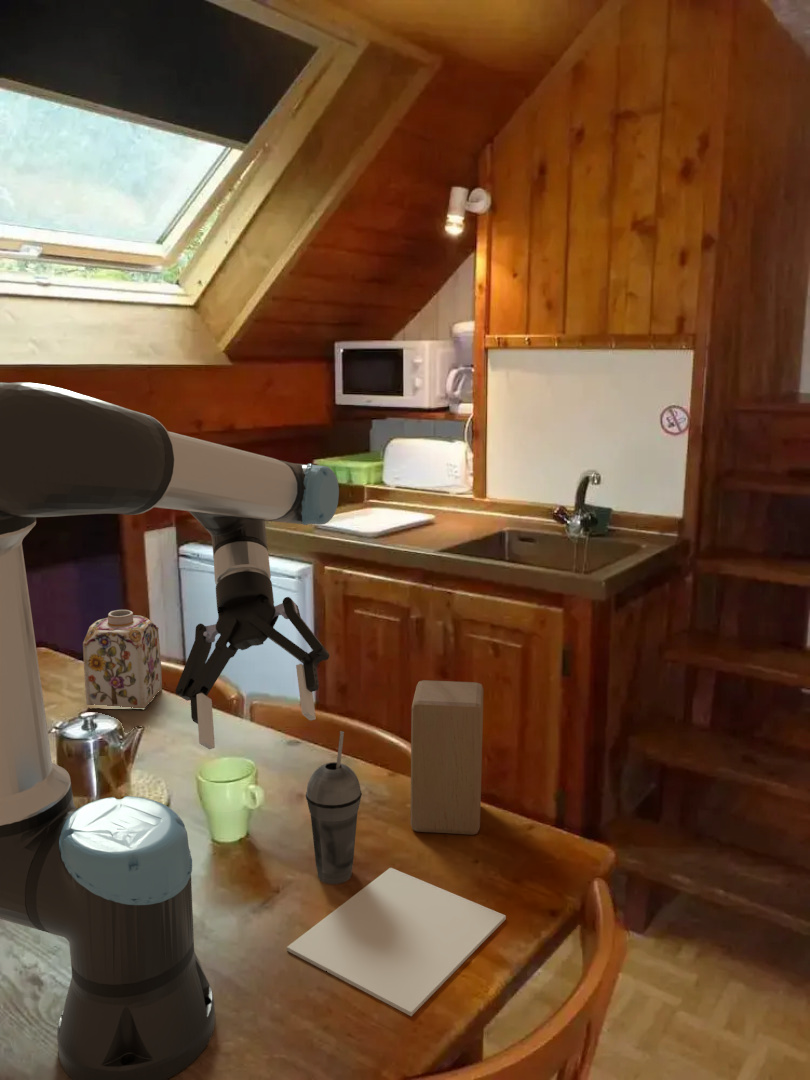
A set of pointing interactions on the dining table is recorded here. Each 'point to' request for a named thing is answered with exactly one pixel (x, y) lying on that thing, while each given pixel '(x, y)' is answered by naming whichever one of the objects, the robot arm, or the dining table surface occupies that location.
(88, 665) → the decorative jar
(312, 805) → the tumbler with straw
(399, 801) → the dining table surface
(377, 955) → the mat
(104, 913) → the robot arm
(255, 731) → the dining table surface
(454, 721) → the block
